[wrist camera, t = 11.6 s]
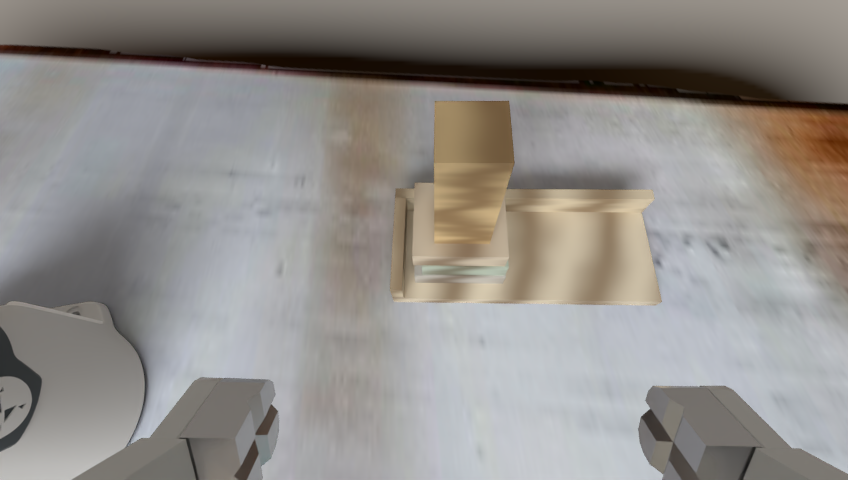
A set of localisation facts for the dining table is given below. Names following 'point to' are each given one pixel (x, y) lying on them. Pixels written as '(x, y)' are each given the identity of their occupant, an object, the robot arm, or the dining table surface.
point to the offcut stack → (455, 248)
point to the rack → (549, 251)
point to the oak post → (470, 169)
